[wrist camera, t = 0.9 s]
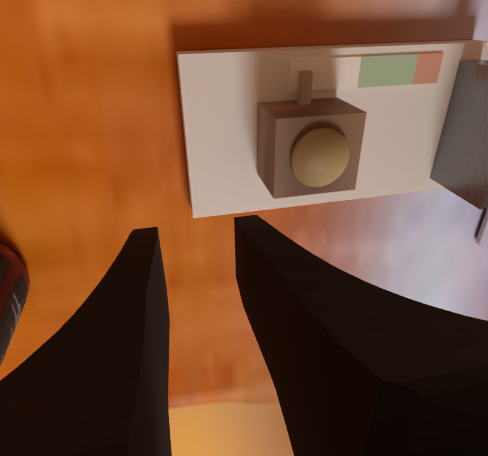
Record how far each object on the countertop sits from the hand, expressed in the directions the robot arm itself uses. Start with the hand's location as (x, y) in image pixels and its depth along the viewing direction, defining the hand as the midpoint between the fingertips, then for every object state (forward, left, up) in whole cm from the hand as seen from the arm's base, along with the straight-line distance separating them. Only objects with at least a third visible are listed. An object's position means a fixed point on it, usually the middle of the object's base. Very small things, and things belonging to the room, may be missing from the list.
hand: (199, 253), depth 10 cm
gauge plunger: (-6, -1, -9) cm, 11 cm away
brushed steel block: (-15, 0, -9) cm, 18 cm away
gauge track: (-8, 0, -10) cm, 13 cm away
